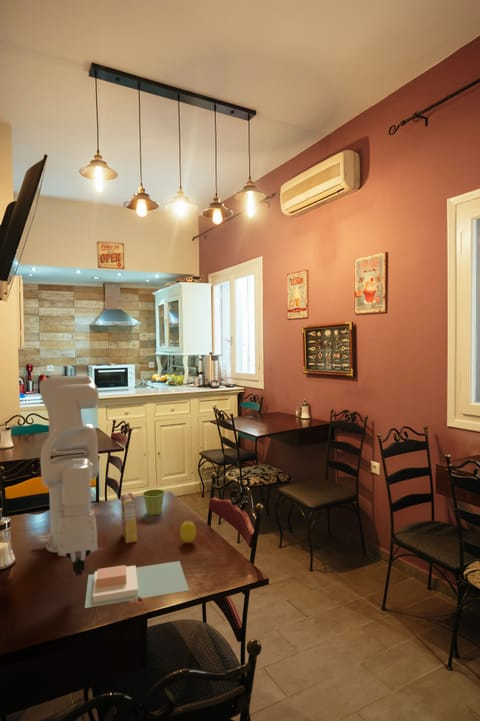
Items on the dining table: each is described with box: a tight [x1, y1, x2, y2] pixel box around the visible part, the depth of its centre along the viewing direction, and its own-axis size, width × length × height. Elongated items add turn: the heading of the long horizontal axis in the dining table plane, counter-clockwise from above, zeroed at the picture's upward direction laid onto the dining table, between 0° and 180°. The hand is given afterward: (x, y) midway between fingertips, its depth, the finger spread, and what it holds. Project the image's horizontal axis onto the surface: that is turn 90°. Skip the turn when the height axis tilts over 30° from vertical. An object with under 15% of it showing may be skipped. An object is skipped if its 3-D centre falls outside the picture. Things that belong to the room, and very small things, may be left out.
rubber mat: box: [84, 560, 190, 609], centre depth 128 cm, size 28×18×1 cm, turn 106°
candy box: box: [120, 492, 138, 544], centre depth 159 cm, size 9×4×15 cm, turn 23°
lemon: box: [179, 520, 197, 544], centre depth 155 cm, size 6×6×8 cm
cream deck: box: [93, 565, 138, 602], centre depth 127 cm, size 12×14×2 cm
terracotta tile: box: [97, 564, 127, 588], centre depth 126 cm, size 8×6×2 cm
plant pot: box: [142, 488, 166, 516], centre depth 184 cm, size 9×9×9 cm
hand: (79, 573), depth 123 cm, fingers closed
